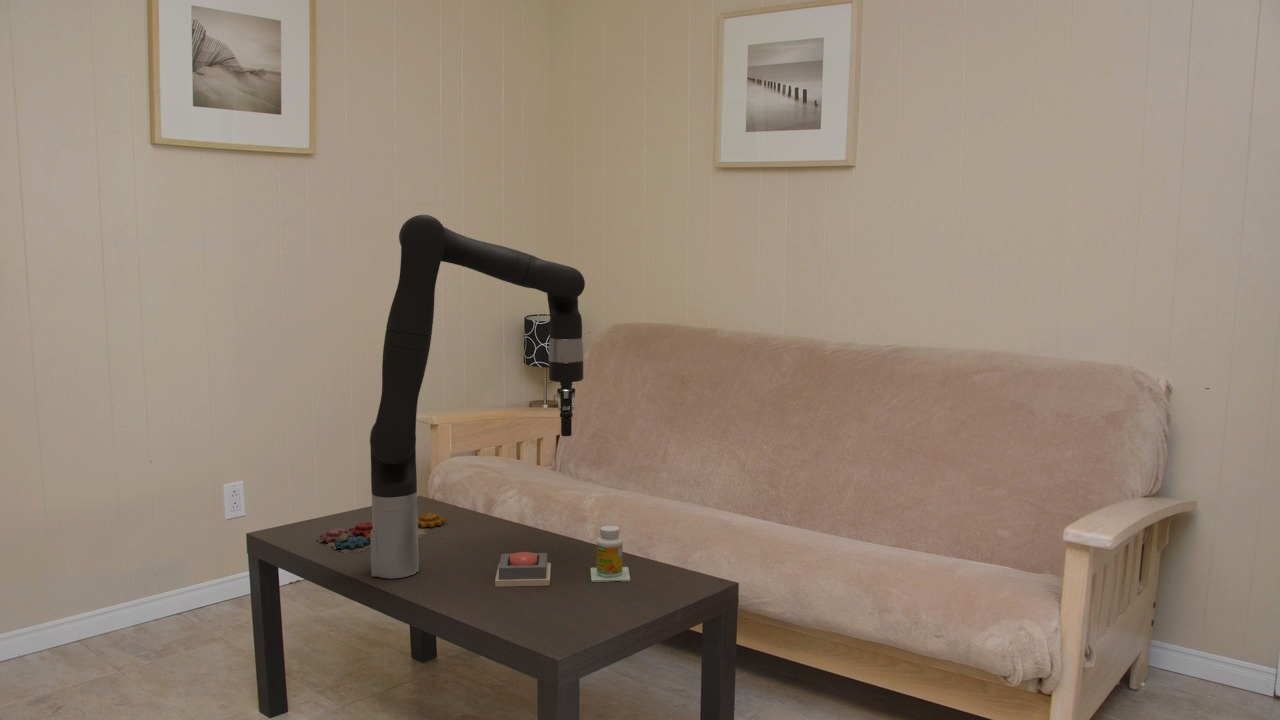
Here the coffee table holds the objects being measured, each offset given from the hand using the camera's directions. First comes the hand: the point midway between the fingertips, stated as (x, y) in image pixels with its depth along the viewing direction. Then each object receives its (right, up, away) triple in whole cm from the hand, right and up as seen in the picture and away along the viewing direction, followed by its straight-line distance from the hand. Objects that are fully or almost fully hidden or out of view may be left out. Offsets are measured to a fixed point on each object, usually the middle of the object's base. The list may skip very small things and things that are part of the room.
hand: (566, 432), depth 210 cm
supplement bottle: (+10, -29, -9) cm, 32 cm away
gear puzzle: (-44, -27, +20) cm, 55 cm away
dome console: (-8, -29, -11) cm, 32 cm away
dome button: (-8, -28, -11) cm, 31 cm away
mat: (+10, -29, -9) cm, 32 cm away
